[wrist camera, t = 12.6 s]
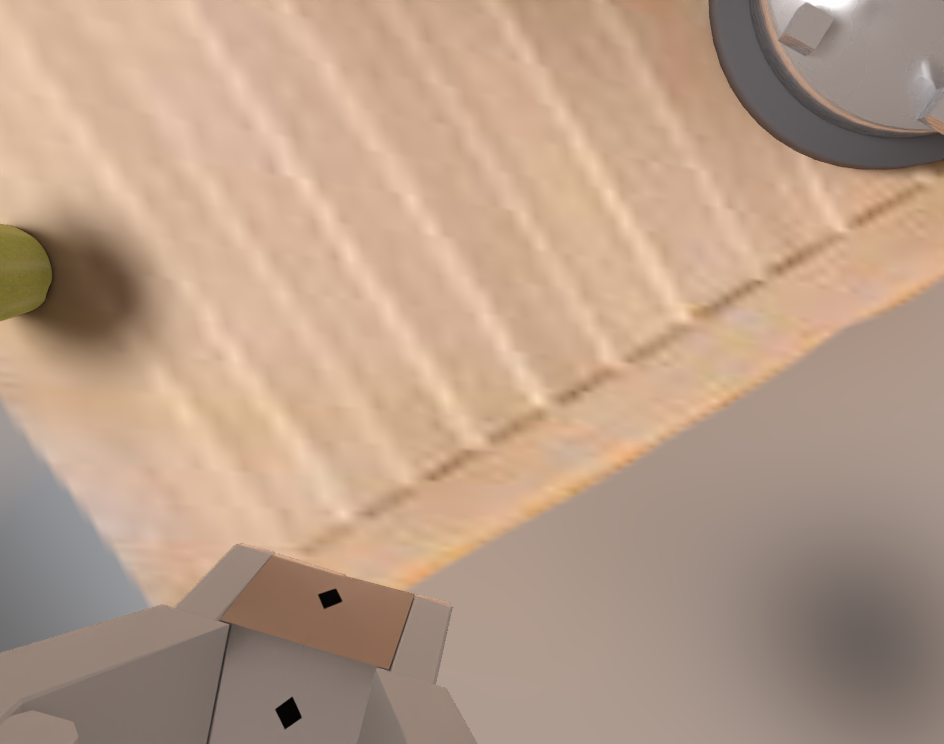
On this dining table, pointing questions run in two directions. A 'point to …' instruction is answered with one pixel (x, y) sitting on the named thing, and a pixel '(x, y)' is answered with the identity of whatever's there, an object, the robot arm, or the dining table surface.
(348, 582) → the robot arm
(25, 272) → the plant pot
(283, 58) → the dining table surface
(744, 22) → the base plate
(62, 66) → the dining table surface
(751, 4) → the round lugged disc
